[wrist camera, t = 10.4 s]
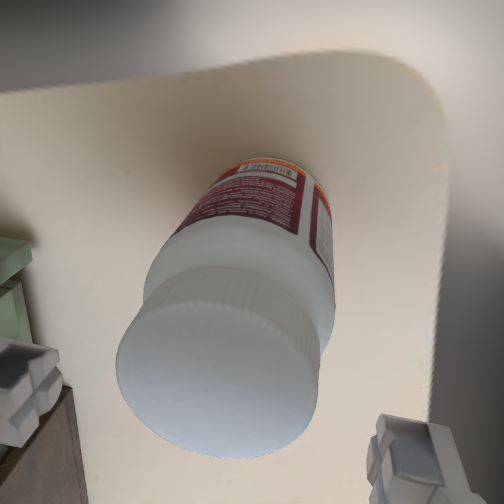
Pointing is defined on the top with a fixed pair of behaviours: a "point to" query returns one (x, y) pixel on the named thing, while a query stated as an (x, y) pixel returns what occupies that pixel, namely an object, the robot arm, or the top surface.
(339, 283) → the top surface
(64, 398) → the cabinet
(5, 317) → the drawer
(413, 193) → the top surface
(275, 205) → the pill bottle
